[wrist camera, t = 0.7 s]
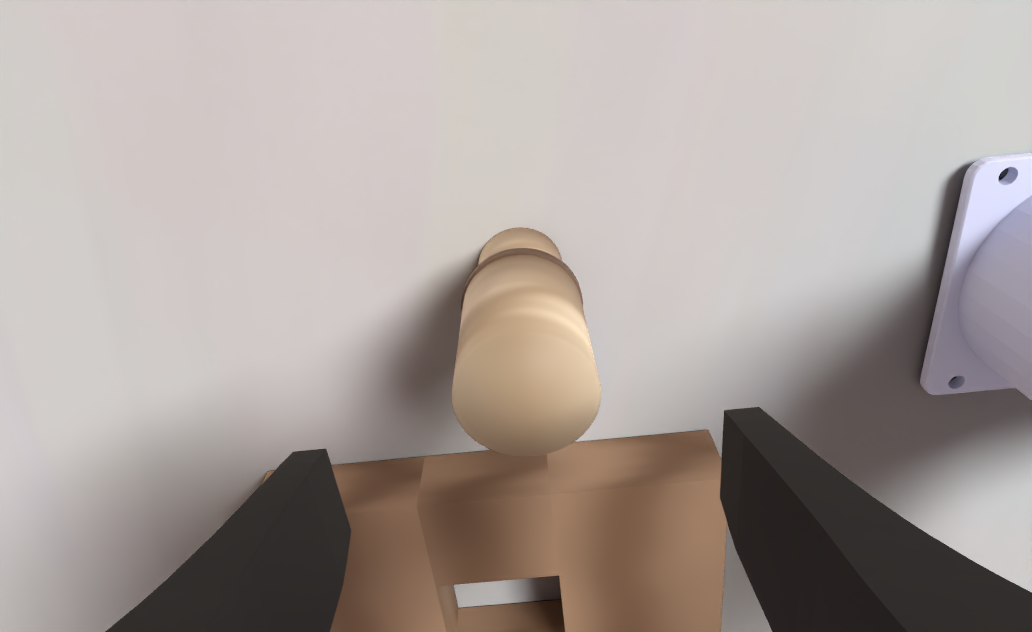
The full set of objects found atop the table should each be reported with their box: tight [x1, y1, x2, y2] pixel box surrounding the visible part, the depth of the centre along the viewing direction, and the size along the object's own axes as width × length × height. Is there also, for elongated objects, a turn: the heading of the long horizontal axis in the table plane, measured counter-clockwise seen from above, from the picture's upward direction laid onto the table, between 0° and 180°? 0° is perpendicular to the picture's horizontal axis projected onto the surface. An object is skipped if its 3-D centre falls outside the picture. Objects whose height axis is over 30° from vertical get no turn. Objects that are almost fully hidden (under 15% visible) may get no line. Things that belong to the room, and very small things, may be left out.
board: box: [261, 430, 727, 632], centre depth 25 cm, size 16×12×2 cm
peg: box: [452, 228, 601, 457], centre depth 17 cm, size 3×3×7 cm
